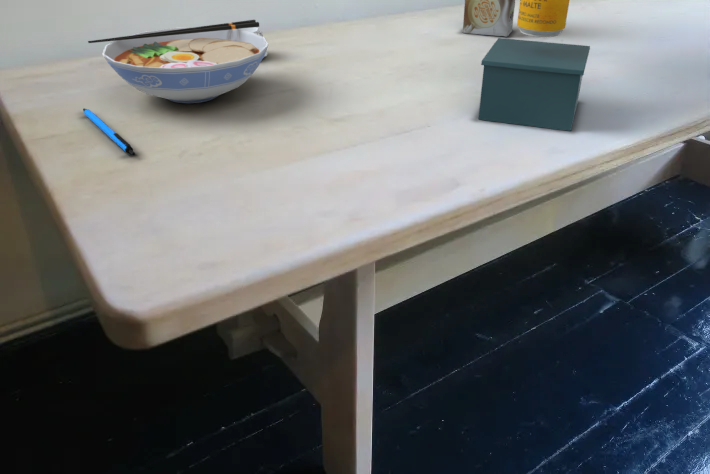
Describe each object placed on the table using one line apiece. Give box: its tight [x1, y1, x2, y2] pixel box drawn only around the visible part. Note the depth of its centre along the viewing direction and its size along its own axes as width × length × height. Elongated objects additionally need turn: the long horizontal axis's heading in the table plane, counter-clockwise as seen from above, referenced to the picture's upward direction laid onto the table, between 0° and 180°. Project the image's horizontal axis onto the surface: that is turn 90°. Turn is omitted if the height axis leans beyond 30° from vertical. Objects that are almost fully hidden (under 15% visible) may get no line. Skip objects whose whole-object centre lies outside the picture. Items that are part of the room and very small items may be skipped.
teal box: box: [478, 37, 591, 132], centre depth 90 cm, size 13×13×8 cm
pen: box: [82, 108, 136, 156], centre depth 84 cm, size 1×19×1 cm, turn 37°
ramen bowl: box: [87, 19, 269, 105], centre depth 95 cm, size 25×23×8 cm
